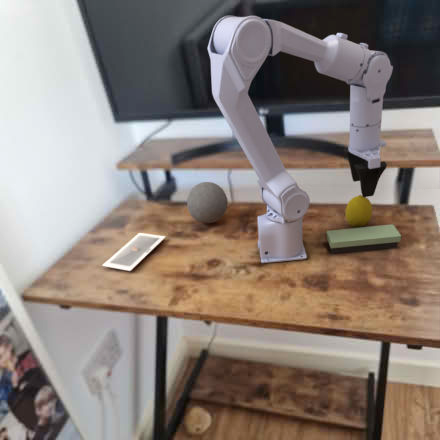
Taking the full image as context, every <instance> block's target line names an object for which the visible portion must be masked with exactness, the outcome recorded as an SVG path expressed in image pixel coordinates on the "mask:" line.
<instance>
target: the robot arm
mask: <svg viewBox="0 0 440 440" xmlns="http://www.w3.org/2000/svg"><path fill="white" fill-rule="evenodd" d="M207 52H208V55H209V59H210V77H211V94H212V97H213V100H214V101H215V103H216V105H217V107H218V108H219V110H220V112H221V114H222V116H223V117H224V119H225V121H226V122H227V125H228V127H229V128H230V130H231V131H232V134H233V135H234V137H235V138H236V140H237V142H238V144H239V146H240V147H241V149H242V151H243V152H244V155H245V156H246V158H247V160H248V162H249V163H250V165H251V167H252V169H253V170H254V172H255V174H256V176H257V177H258V179H257V181H256V182H257V184H258V186H259V189H260V198H261V200H262V202H263V203H264V204H265V205H266V213H264V214H261V215H258V216H257V218H256V219H257V222H256V223H257V236H258V240H257V250H259V256H260V262H261V264H269V263H280V262H281V263H282V262H289V261H300V260H307V258H308V255H307V252H306V249H305V246H304V243H303V239H304V238H303V235H304V234H303V230H304V228H303V227H304V225H303V223H304V222H303V221H304V216H305V215H306V213H307V212H308V210H309V208H310V204H311V199H310V196H309V194H308V193H307V191H305V190H303V189H302V188H300V186H299V185H298V182H297V181H296V180H295V179H294V177H293V176H292V175H291V174H290V173H289V172H288V170H287V169H286V168H285V165H284V164H283V161H282V160H281V158H280V155H279V154H278V152H277V150H276V147H275V145H274V143H273V142H272V140H271V137H270V135H269V134H268V131H267V129H266V127H265V126H264V124H263V121H262V120H261V117H260V116H259V113H258V111H257V109H256V107H255V106H254V104H253V101H252V99H251V97H250V96H249V90H250V86H251V83H252V81H253V80H254V78H255V77H256V75H257V73H258V72H259V70H260V68H261V67H262V65H263V64H264V62H265V61H266V58H267V57H268V56H271V57H274V56H276V55H277V54H279V53H280V52H282V53H284V54H289V55H291V56H295V57H299V58H302V59H305V60H308V61H312V62H313V64H314V67H315V69H316V72H318V73H319V74H321V75H325V76H327V77H331V78H334V79H336V80H340V81H342V82H345V83H346V84H347V85H350V86H349V89H350V91H349V94H350V95H349V143H348V146H347V147H344V149H343V152H344V154H345V156H346V157H347V161H348V165H349V168H350V174H351V178H352V182H353V183H354V182H359V184H360V192H361V195H362V196H363V197H366V198H368V197H373V196H374V195H375V192H376V189H377V186H378V183H379V181H380V179H381V176H382V175H383V173H384V171H385V170H386V169H387V166H388V165H387V162H386V161H384V160H383V161H381V160H382V159H381V156H380V155H381V149H382V148H385V147H386V146H387V142H386V140H385V139H381V136H382V135H381V133H382V120H383V103H384V96H385V93H386V88H387V85H388V82H389V81H390V79H391V76H392V73H393V69H394V66H393V65H391V61H390V57H389V55H388V54H387V53H386V52H384V51H380V50H370V49H369V44H367V43H366V42H365V43H364V42H360V43H355V42H353V41H350V40H348V34H346V33H342V32H337V33H336V34H329V35H328V36H326V37H325V38H323V39H320V38H318V37H316V36H314V35H312V34H310V33H306V32H305V31H303V30H301V29H298V28H295V27H293V26H292V25H289V24H287V23H284V22H282V21H278V20H275V19H268V18H262V17H260V16H257V15H249V16H248V15H247V16H237V15H236V16H235V15H225V16H223V17H221V18H219V20H218V21H216V23H215V24H214V26H213V28H212V31H211V35H210V38H209V42H208V45H207Z"/></svg>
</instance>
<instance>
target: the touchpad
mask: <svg viewBox="0 0 440 440" xmlns="http://www.w3.org/2000/svg"><path fill="white" fill-rule="evenodd" d="M166 237H167V236H166V235H158V234H151V233H143V232H138V233H137V234H136V235H135V236H134V237H132V238H131V239H130V240H129V241H128V242H127V243H125V244H124V245H123V246H122V247H121V248H120V249H119V250H118V251H116V252H115V253H114V254H113V255H112V256H111V257H109V259H107V260H106V261H105V262H104V263H103V264H102V265H101V266H102V267H107V268H112V269H118V270H121V271H127V272H131V271H132V270H133V269H134V268H135V267H136V266H137V265H138V264H139V263H140V262H141V261H142V260H143V259H145V258H146V256H147V255H149V254H150V253H151V252H152V251H153V250H154V249H155V248H157V246H158V245H159V244H160V243H161V242H162V241H163V240H164V239H165V238H166Z"/></svg>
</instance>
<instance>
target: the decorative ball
mask: <svg viewBox="0 0 440 440" xmlns="http://www.w3.org/2000/svg"><path fill="white" fill-rule="evenodd" d="M186 200H187V201H186V204H187V210H188V212H189V215H190V216H191V217H192V218H193V219H194V220H196V221H197V222H199V223H201V224H213V223H215V222H218V221H219V220H221V218H223V217H224V215H225V214H226V211H227V209H228V197H227V194H226V192H225V190H224V188H222V187H221V186H220V185H218V184H217V183H215V182H211V181H204V182H200V183H197V184H196V185H194V186H193V187H192V188H191V190H190V191H189V193H188V195H187V199H186Z"/></svg>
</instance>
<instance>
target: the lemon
mask: <svg viewBox="0 0 440 440" xmlns="http://www.w3.org/2000/svg"><path fill="white" fill-rule="evenodd" d="M344 214H345V220H346V222H347V224H349V226H350V227H353V228H361V227H365V226H366V225H367V224H368V223H369V222H370V220H371V218H372V214H373V206H372V202H371V201H370V199H369V198H368V197H363V196H362V194H358V195H357V196H353V197H352V198H351V199H350V200H349V201H348V203H347V204H346V208H345V213H344Z"/></svg>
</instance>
